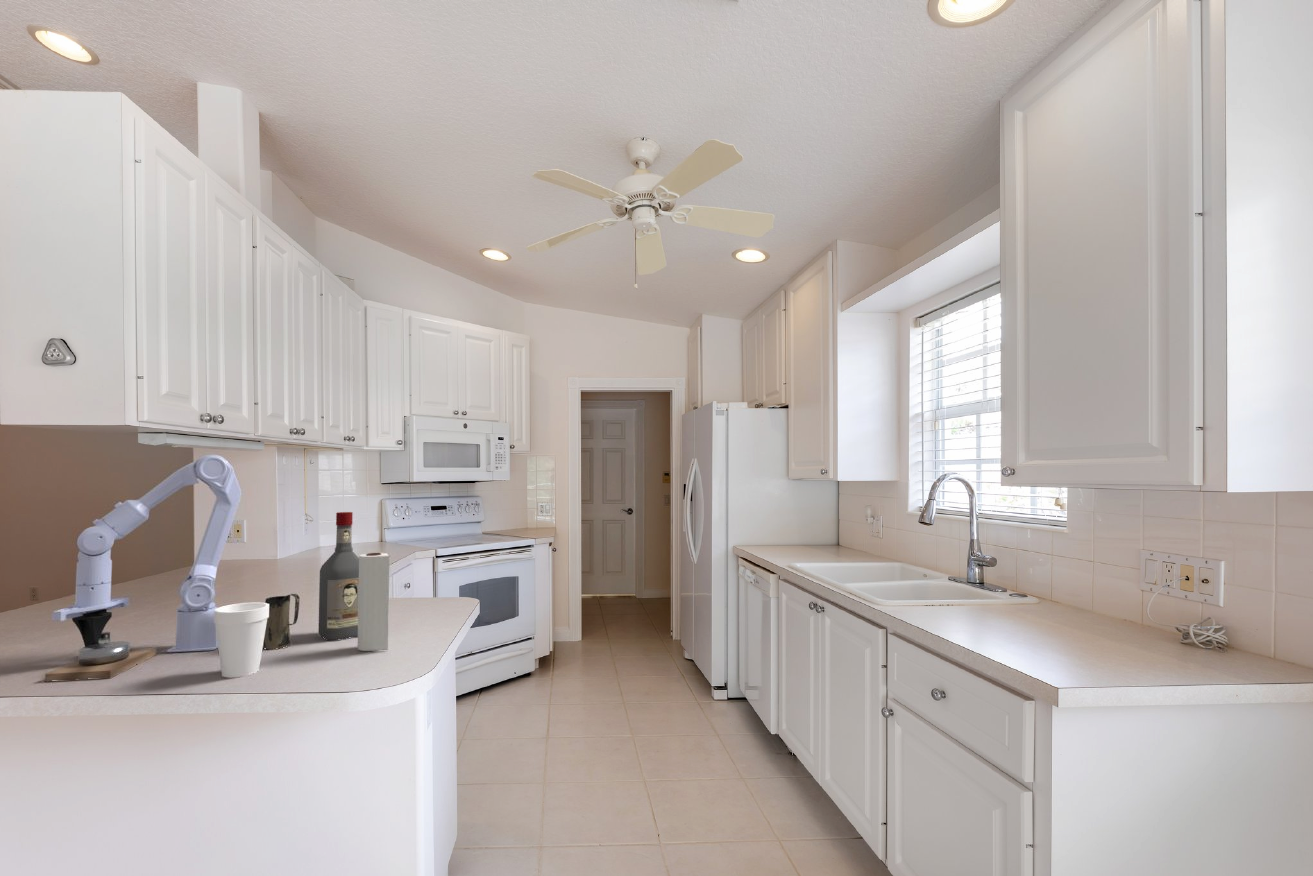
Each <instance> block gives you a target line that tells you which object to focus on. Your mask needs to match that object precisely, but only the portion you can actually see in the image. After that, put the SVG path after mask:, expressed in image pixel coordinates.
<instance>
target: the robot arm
mask: <svg viewBox="0 0 1313 876" xmlns="http://www.w3.org/2000/svg"><path fill="white" fill-rule="evenodd" d="M198 479H199V480H200V481H201V482H203V483H204V484H206V485H207V486H208V488H209V489H210V491H212V494H214V496H215V502H214V504H213V507H212V511H211V513H210V516H209V518H208V522H207V525H206V527H205V531H204V533H203V536H202V539H201V541H200V545H199V548H198V551H197V554H196V557H195V559H194V562H193V564H192V566H191V568H190V570H189V573H188V575H187V577H186V579H184V580H183V581H182V583H180V585H179V588H178V596H179V597H180V601H181V604H180V605H179V606H177V607H176V622H175V623H176V627H175V630H176V631H175V645H174V646H173V647H171V648H169V649H167V650H166V652H167V653H179V652H180V653H182V652H198V651H199V652H202V651H203V652H204V651H214V650H216V649H218V641H217V633H216V625H215V623H214V611H215V609H216V608H219V606H216V603H215V602H214V599H215V596H216V590H215V586H214V585H215V581H216V578H217V570H218V567H219V564H220V562H221V557H222V555H223V552H224V549H225V546H226V543H227V539H228V537H229V534H230V531H231V528H232V525H233V522H234V519H235V515H236V513H237V511H238V507H239V504H240V501H241V498H242V489H241V487H240V484H239V481H238V478H237V476H236V474H235V469H234V467H233V466H232V465H231V464H230V462H228V461H227V459H226V458H224V457H223V456H221V455H219V454H207V455H203V456H199V458H197V459H196V461H195V462H194V461H193V462H190V463H188V464H186V465H184V466H183V467H181V468H180V469H179V468H178V470H176V471H174V472H173V473H171V475H169V476H168V477H166V478H165V479H164V480H162V482H160V483H159V484H157V485H156V486H154V488H151V490H149V491H148V492H147V493H145V494H144V495H143V496H141V497H140V498H138V499H126V500H125V501H124V502H121V501H118V503H116V504H115V505H114V506H113V507H114V509H113V510H111V511H110V512H108V513H107V514H106V515H104V516H103V517H101V518H100V519H98V518H95V520H93V521H92V523H93V525H94V526H90V527H88V528H85V529H84V530H83V531H82V532H81V533H80V534H79V536H78V538H77V540H76V541H77V542H76V545H77V548H78V549H79V551H78V554H77V560H78V562H76V571H75V573H76V574H75V596H74V597H75V599H74V600H75V601H74V603H73V604H72V605H71V606H68V607H64V608H61V609H58V610H54V611H52V617H51V619H52V620H51V621H52V622H63V621H66V620H68V619H71V620H72V622H73V623H74V624H75V625H76V627H77V629H78V630H79V632H80V635H81V638H82V641H83V644H84V647H85V646H89V645H93V644H98V641H99V639H100V636H101V633H102V632H104V631H103V630H104V629H105V627H106V625H107V624H108V623H109V621H110V620H111V618H112V617H113V612H112V611H111V610H114V609H118V608H119V609H120V608H128V607H129V606H130V598H129V597H117V598H111V597H112V596H111V595H112V573H113V572H112V571H113V560H112V559H111V554H112V547H113V546H114V543H115V540H122V539H123V538H125V537H126V536H127V535H128V534H130V533H132V532H133V531H134V530H135V529H137V528H138V527H139V526H141V525H142V524H143V523H144V522H146V521H147V520H148V519H149V518H150V510H152V509H153V508H154V507H156V506H157V505H158V504H160V503H162V502H163V501H165V500H166V499H167V498H169V497H170V496H171V495H173V494H174V493H177V491H179V490H180V489H182V488H184V487H187V486H192V485H196V484H200V481H199V480H198Z"/></svg>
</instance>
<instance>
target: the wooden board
mask: <svg viewBox="0 0 1313 876" xmlns="http://www.w3.org/2000/svg"><path fill="white" fill-rule="evenodd" d="M154 655H155V656H156V655H157V648H154V647H152V648H129V656H128V657H127V658H124V659H122V660H118V661H114V662H109V663H103V664H93V665H83V664H79V663H78V661H79V659H77V660H74V661H72V662H70V663H68V664H66V665H62V666H61V667H58V668H55V669H54V670H51V671H49V672H46V673H45V674H44V682H45V681H52V680H71V681H77V680H76V679H88V678H107V679H111V677H112V678H114V677H115V676H114V675H116V676H118V675H119V674H118V673H120V672H122V671H124V670H126V671H127V669H128V668H130V669H132V668H133V667H135V666H137V665H140V664H141V663H143V662H145V661H147V660H149V659H151V658H153V657H155V656H154ZM140 662H141V663H140ZM136 664H137V665H136ZM128 670H129V669H128ZM124 672H125V671H124ZM122 673H123V672H122ZM117 674H118V675H117ZM120 674H121V673H120ZM113 676H114V677H113Z"/></svg>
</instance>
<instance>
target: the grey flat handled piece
mask: <svg viewBox="0 0 1313 876" xmlns="http://www.w3.org/2000/svg"><path fill="white" fill-rule="evenodd" d="M130 646H131V643H130V642H129V641H126V640H125V641H123V640H122V641H121V640H119V641H118V640H117V641H111V632H110V631H102V633H101V636H100V639H99V641H98V644H93V645H89V646H85V645H84V646H83V647H80V648H79V649H78V660H79V661H78V663H79V664H83V665H93V664H103V663H109V662H114V661H118V660H122V659H124V658H127V657H128V656H129V649H130Z"/></svg>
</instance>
